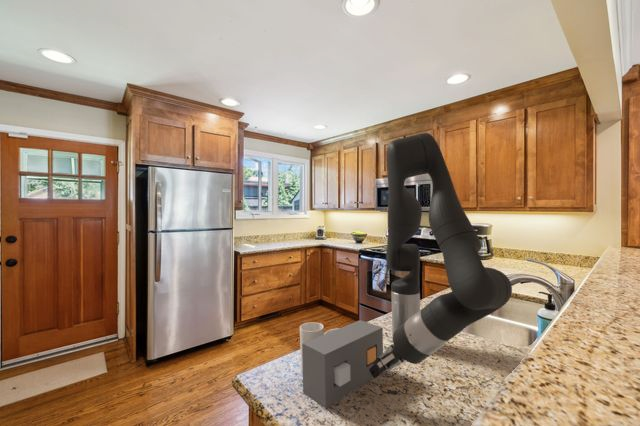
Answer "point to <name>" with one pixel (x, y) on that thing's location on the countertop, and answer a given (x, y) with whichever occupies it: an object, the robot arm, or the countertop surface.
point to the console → (339, 360)
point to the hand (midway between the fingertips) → (373, 372)
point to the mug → (309, 334)
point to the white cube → (341, 373)
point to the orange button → (370, 355)
